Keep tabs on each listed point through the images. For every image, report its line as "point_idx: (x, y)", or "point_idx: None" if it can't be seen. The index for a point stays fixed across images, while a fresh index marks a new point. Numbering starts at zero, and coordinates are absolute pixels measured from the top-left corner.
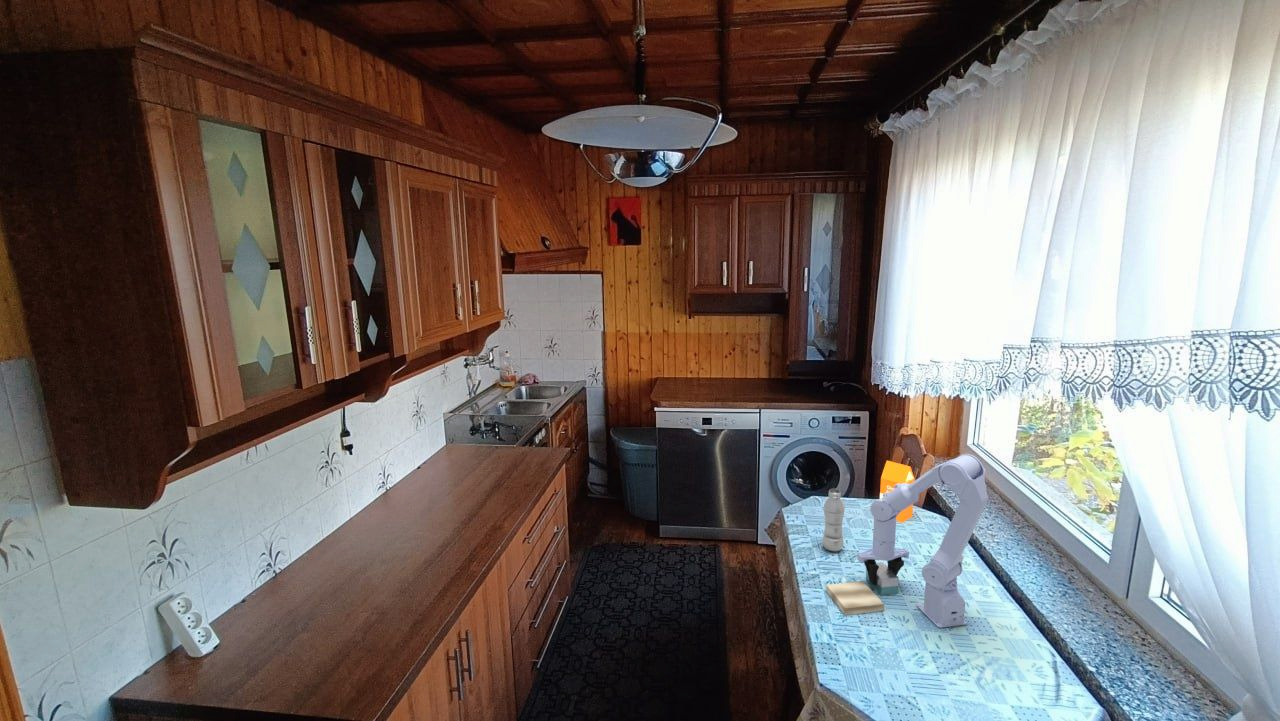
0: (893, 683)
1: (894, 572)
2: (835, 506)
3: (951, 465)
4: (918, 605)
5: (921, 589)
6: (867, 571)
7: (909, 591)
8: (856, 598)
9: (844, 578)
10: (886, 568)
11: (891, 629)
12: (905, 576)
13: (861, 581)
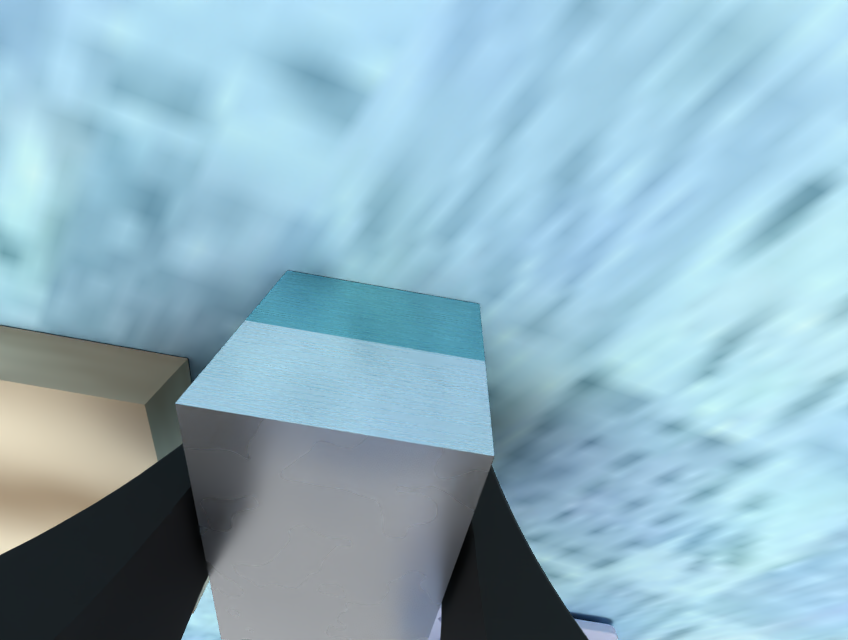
0: None
1: (441, 631)
2: None
3: None
4: (440, 616)
5: (644, 520)
6: (158, 461)
7: (536, 507)
8: (8, 535)
9: (39, 161)
10: (417, 560)
11: (187, 630)
12: (733, 368)
13: (125, 407)
